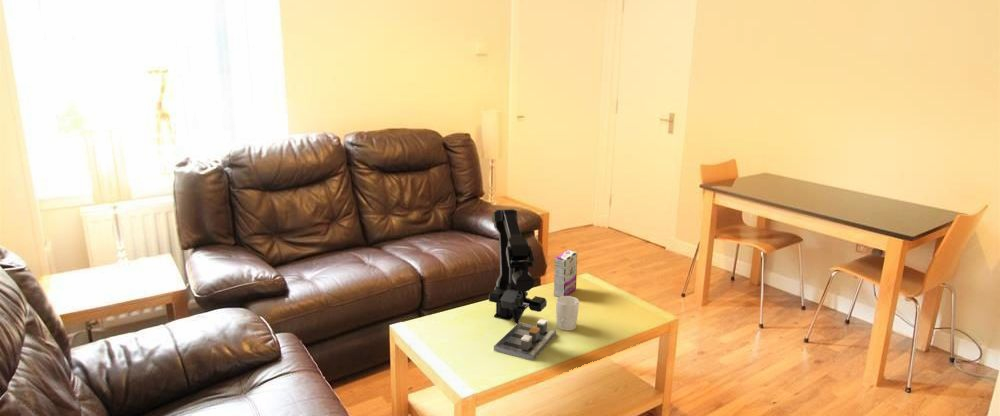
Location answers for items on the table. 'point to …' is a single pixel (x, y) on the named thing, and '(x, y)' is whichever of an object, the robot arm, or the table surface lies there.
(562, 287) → the candy bar box
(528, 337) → the block
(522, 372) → the table surface
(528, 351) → the panel
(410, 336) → the table surface
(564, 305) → the white cup
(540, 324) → the block
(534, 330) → the block
